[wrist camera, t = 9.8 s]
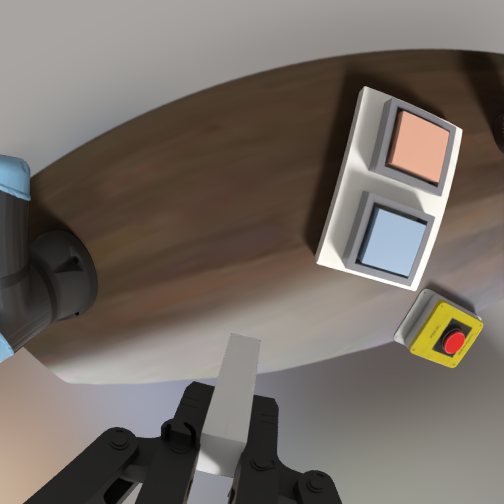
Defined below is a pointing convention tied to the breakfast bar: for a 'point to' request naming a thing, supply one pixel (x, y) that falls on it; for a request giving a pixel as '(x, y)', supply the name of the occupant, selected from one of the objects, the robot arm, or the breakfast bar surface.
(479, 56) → the breakfast bar surface
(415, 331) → the emergency button
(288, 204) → the breakfast bar surface
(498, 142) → the coffee mug
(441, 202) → the key panel
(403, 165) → the terracotta key
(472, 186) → the breakfast bar surface
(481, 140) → the breakfast bar surface
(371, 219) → the blue key
